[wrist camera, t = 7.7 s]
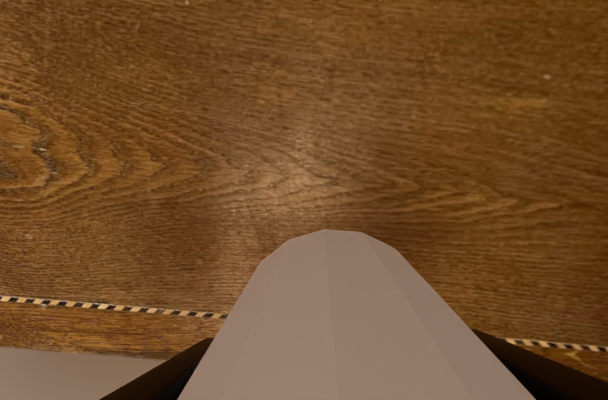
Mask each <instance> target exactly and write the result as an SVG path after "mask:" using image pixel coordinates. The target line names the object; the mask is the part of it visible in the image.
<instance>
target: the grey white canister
mask: <svg viewBox="0 0 608 400" xmlns="http://www.w3.org/2000/svg"><path fill="white" fill-rule="evenodd" d="M177 400H536V399H535V398H534V397H533V396H532V395H531V394H530V393H529V392H528V390H527V389H526V388H525V387H524V386H523V385H522V384H521V383H520V382H519V381H518V380H517V379H516V378H515V377H514V375H513V374H512V373H511V372H510V371H509V370H508V369H507V368H506V367H505V366H504V365H503V364H502V363H501V361H500V360H499V359H498V358H497V357H496V356H495V355H494V354H493V353H492V352H491V351H490V350H489V349H488V348H487V346H486V345H485V344H484V343H483V342H482V341H481V340H480V339H479V338H478V337H477V336H476V335H475V334H474V333H473V331H472V330H471V329H470V328H469V327H468V326H467V325H466V324H465V323H464V322H463V321H462V320H461V319H460V318H459V316H458V315H457V314H456V313H455V312H454V311H453V310H452V309H451V308H450V307H449V306H448V305H447V304H446V302H445V301H444V300H443V299H442V298H441V297H440V296H439V295H438V294H437V293H436V292H435V291H434V290H433V289H432V287H431V286H430V285H429V284H428V283H427V282H426V281H425V280H424V279H423V278H422V277H421V276H420V275H419V274H418V272H417V271H416V270H415V269H414V268H413V267H412V266H411V265H410V264H409V263H408V262H407V261H406V260H405V258H404V257H403V256H402V255H401V254H400V253H399V252H398V251H397V250H396V249H395V248H393V247H391V246H389V245H387V244H385V243H383V242H381V241H379V240H377V239H375V238H373V237H371V236H369V235H367V234H365V233H363V232H353V231H340V230H328V229H323V230H319V231H316V232H313V233H309V234H306V235H303V236H299V237H296V238H293V239H289V240H287V241H286V242H285V243H283V244H282V245H281V246H280V247H278V248H277V249H276V250H275V251H273V252H272V253H271V254H270V255H268V256H267V257H266V258H265V259H263V260H262V261H261V262H260V263H259V265H258V267H257V268H256V270H255V272H254V273H253V275H252V276H251V278H250V280H249V281H248V283H247V285H246V286H245V288H244V290H243V291H242V293H241V295H240V296H239V298H238V300H237V301H236V303H235V305H234V306H233V308H232V310H231V311H230V313H229V315H228V316H227V318H226V320H225V321H224V323H223V325H222V326H221V328H220V330H219V331H218V333H217V335H216V336H215V338H214V340H213V341H212V343H211V345H210V346H209V348H208V350H207V351H206V353H205V354H204V356H203V358H202V359H201V361H200V363H199V364H198V366H197V368H196V369H195V371H194V373H193V374H192V376H191V378H190V379H189V381H188V383H187V384H186V386H185V388H184V389H183V391H182V393H181V394H180V396H179V398H178V399H177Z"/></svg>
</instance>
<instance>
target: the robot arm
mask: <svg viewBox="0 0 608 400" xmlns="http://www.w3.org/2000/svg"><path fill="white" fill-rule="evenodd" d="M471 330H472V331H473V333H474V334H475V335H476V336H477V337H478V338H479V339H480V340H481V341H482V342H483V343H484V344H485V345H486V346H487V348H488V349H489V350H490V351H491V352H492V353H493V354H494V355H495V356H496V357H497V358H498V359H499V360H500V361H501V363H502V364H503V365H504V366H505V367H506V368H507V369H508V370H509V371H510V372H511V373H512V374H513V375H514V377H515V378H516V379H517V380H518V381H519V382H520V383H521V384H522V385H523V386H524V387H525V388H526V389H527V390H528V392H529V393H530V394H531V395H532V396H533V397H534V398H535V399H536V400H608V383H607V382H605V381H602V380H600V379H597V378H595V377H592V376H590V375H587V374H585V373H583V372H580V371H578V370H575V369H573V368H570V367H568V366H565V365H563V364H560V363H558V362H555V361H553V360H550V359H548V358H546V357H543V356H541V355H538V354H536V353H533V352H531V351H528V350H526V349H523V348H521V347H518V346H516V345H513V344H511V343H509V342H506V341H504V340H501V339H499V338H496V337H494V336H491V335H489V334H486V333H484V332H481V331H479V330H476V329H471ZM213 340H214V338H206V339H204V340H202V341H200V342H199V343H197V344H195V345H193V346H192V347H190V348H188V349H186V350H185V351H183V352H181V353H180V354H178V355H176V356H174V357H173V358H171V359H169V360H167V361H166V362H164V363H162V364H160V365H159V366H157V367H155V368H153V369H152V370H150V371H148V372H147V373H145V374H143V375H141V376H140V377H138V378H136V379H134V380H133V381H131V382H129V383H127V384H126V385H124V386H122V387H120V388H119V389H117V390H115V391H114V392H112V393H110V394H108V395H107V396H105V397H103V398H101V399H100V400H177V399H178V398H179V396H180V394H181V393H182V391H183V389H184V388H185V386H186V384H187V383H188V381H189V379H190V378H191V376H192V374H193V373H194V371H195V369H196V368H197V366H198V364H199V363H200V361H201V359H202V358H203V356H204V354H205V353H206V351H207V350H208V348H209V346H210V345H211V343H212V341H213Z"/></svg>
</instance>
